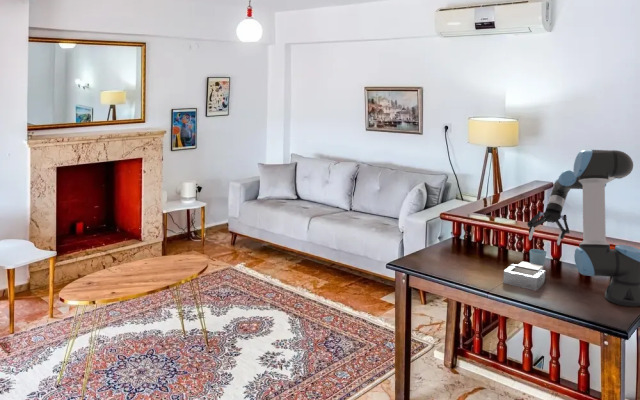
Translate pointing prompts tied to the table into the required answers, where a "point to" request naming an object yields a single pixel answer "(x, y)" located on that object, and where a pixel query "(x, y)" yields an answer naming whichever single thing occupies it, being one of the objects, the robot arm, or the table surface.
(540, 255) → the cup
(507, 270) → the white rectangular box
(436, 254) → the table surface
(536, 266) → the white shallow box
